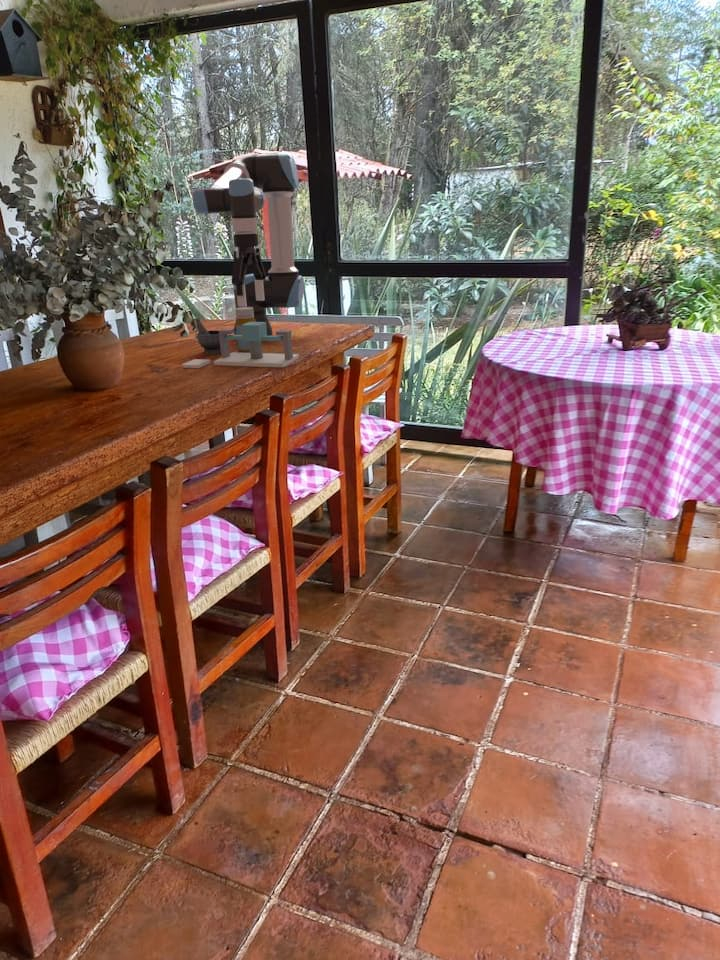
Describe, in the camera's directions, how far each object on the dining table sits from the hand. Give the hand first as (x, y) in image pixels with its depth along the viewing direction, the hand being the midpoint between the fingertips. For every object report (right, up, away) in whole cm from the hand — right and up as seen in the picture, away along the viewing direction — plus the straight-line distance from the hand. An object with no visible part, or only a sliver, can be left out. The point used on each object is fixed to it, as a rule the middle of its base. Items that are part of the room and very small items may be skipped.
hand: (251, 303), depth 223 cm
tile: (-19, -19, +5) cm, 27 cm away
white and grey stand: (+1, -17, +7) cm, 19 cm away
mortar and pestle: (-18, -11, +24) cm, 32 cm away
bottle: (-5, -11, +23) cm, 26 cm away
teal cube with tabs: (0, -11, +5) cm, 12 cm away
